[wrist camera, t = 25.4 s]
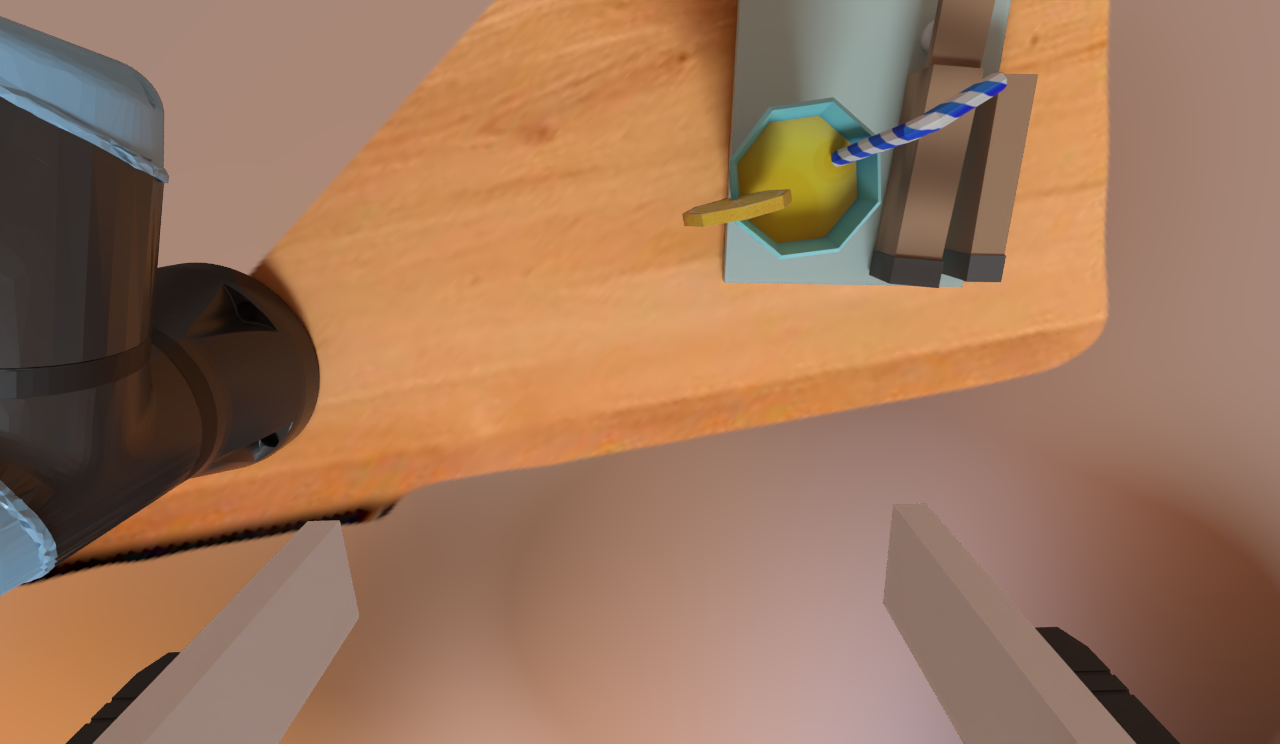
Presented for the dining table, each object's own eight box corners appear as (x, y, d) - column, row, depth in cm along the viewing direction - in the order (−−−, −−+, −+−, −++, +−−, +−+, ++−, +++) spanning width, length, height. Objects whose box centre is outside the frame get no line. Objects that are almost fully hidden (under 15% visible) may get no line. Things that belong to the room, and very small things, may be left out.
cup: (855, 56, 38) (978, -22, 23) (906, 172, 39) (1048, 165, 25) (656, 177, 40) (656, 173, 26) (713, 280, 42) (742, 331, 27)
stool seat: (722, 279, 43) (730, 291, 38) (740, -53, 37) (752, -86, 32) (960, 284, 43) (998, 296, 38) (1016, -51, 37) (1069, -85, 32)
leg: (921, -1, 36) (950, -22, 33) (972, 3, 36) (1007, -17, 33) (868, 275, 41) (889, 283, 37) (913, 278, 41) (938, 287, 37)
